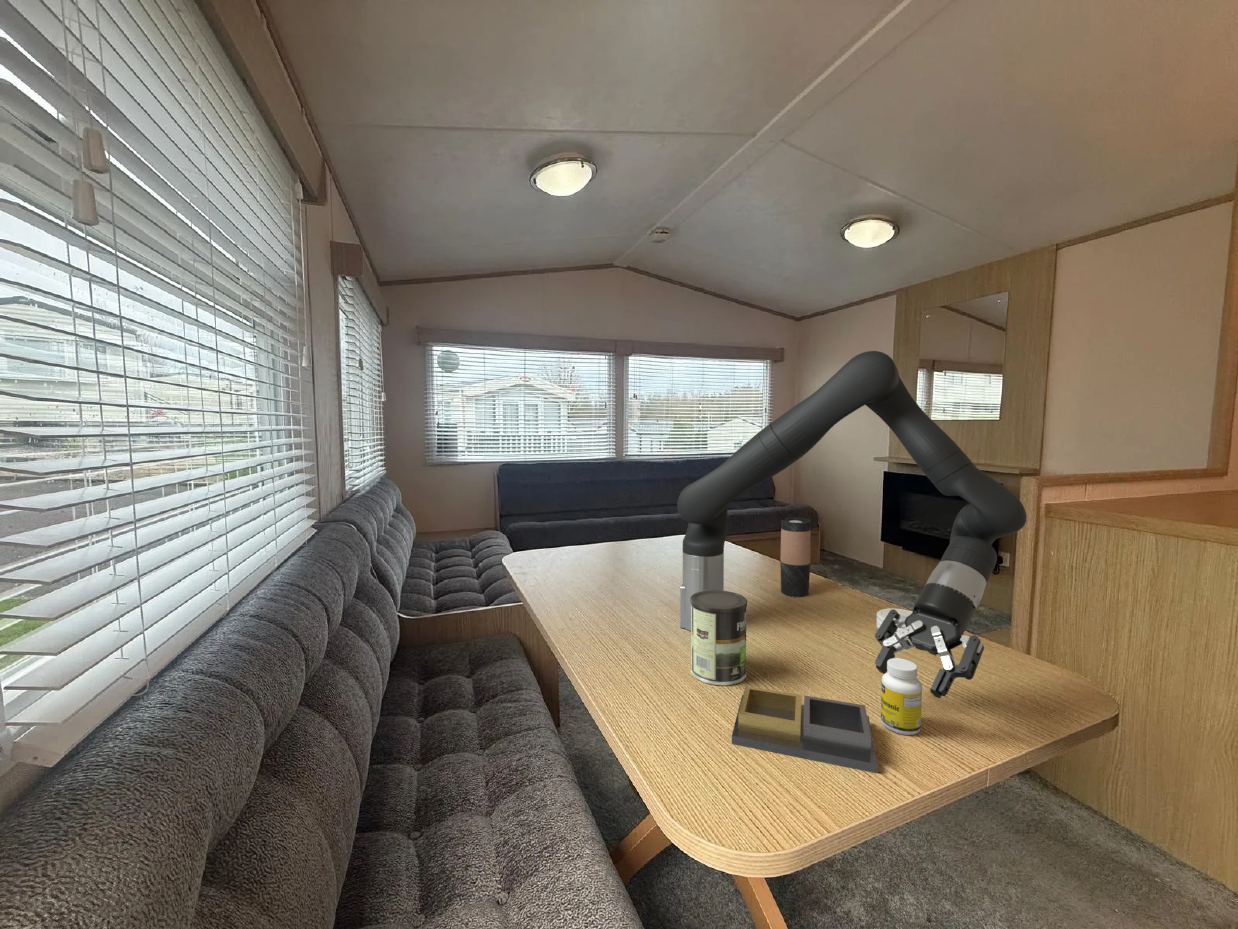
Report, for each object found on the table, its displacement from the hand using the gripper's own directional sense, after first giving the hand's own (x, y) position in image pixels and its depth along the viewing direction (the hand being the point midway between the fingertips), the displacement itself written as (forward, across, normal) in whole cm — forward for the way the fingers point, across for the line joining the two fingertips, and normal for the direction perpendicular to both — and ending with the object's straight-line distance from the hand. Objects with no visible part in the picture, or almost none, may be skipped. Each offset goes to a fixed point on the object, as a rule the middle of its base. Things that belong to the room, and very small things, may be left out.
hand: (906, 682), depth 79 cm
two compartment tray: (+16, -6, -6) cm, 18 cm away
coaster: (-19, -22, +29) cm, 41 cm away
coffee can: (+14, -27, -5) cm, 31 cm away
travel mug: (-19, -52, +29) cm, 62 cm away
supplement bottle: (+6, 0, +4) cm, 7 cm away
